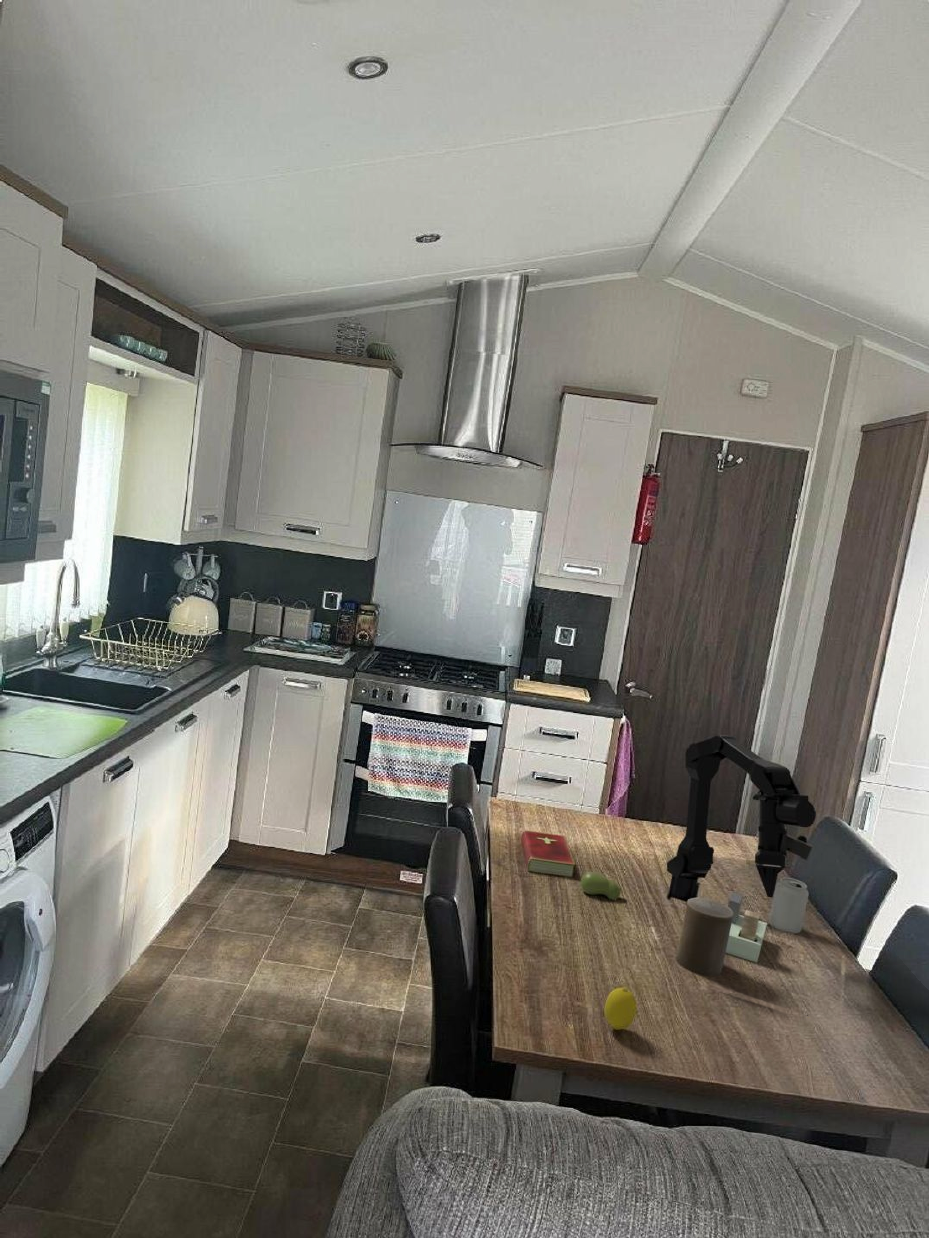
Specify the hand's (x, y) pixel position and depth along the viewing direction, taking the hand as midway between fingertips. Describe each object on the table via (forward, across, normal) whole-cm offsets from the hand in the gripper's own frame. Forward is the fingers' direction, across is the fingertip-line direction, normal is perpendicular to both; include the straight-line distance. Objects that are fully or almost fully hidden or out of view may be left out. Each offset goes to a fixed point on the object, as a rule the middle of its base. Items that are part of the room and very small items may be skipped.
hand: (770, 894), depth 206 cm
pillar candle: (+15, -13, +14) cm, 24 cm away
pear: (+6, +10, +40) cm, 42 cm away
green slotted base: (+9, +3, +6) cm, 12 cm away
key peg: (+13, -1, +5) cm, 14 cm away
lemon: (+20, -48, +24) cm, 58 cm away
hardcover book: (+1, +23, +58) cm, 62 cm away
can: (+11, +23, -2) cm, 26 cm away
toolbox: (+13, +4, +7) cm, 15 cm away
